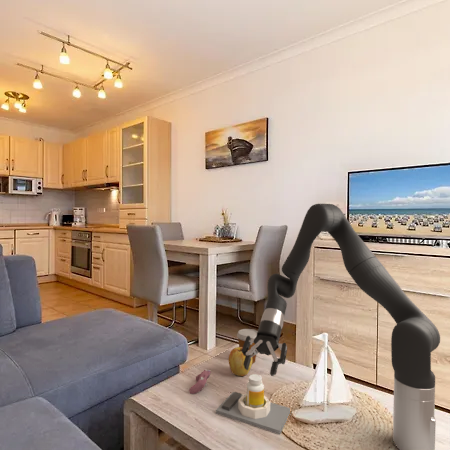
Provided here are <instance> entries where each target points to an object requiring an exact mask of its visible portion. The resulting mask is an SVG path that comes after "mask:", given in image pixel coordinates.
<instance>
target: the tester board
mask: <svg viewBox="0 0 450 450" xmlns="http://www.w3.org/2000/svg"><path fill="white" fill-rule="evenodd" d="M290 408H291V407H288V406H285V405H280V404H277V403H273V402H271V401H270V400H269V398H268V397H267V396H266V395H265V394H264V407H259V408H252V407H249V406H246V393H244V394H243V393H241V392H237V391H232V392H231V393H230V394H229V395H228V397H226V398H225V400H224V401H223V402H221V404H220V405H219V406H218V407H217V408H216V409H215V414H217V415H220V416H223V417H227V418H229V419H232V420H234V421H235V420H236V421H238V422H241V423H244V424H247V425H249V426H252V427H253V426H254V427H257V428H259V429H262V430H266V431H268V432H271V433H275V434H278V435H281V434H282V432H283V429H284V428H285V426H286V424H287V422H288V420H287V418H288V416H289V414H290ZM290 415H291V414H290ZM289 417H290V416H289ZM288 419H289V418H288ZM286 421H287V422H286ZM285 423H286V424H285ZM284 425H285V426H284Z"/></svg>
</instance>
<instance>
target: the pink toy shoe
mask: <svg viewBox="0 0 450 450" xmlns="http://www.w3.org/2000/svg"><path fill="white" fill-rule="evenodd" d="M211 372H212V371H210V370H209V369H206V368H205V369H203V371H201V372H200V373H199V374H197V376H195V381H196V382H195V383H194V384H193V385H191V386H190V387H189V390H188V392H189V393H190V395H195V394H197V393H199V392H202V390H203V389H204V388H207V386H208V384H207V382H208V379H209V378H210V375H211Z"/></svg>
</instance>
